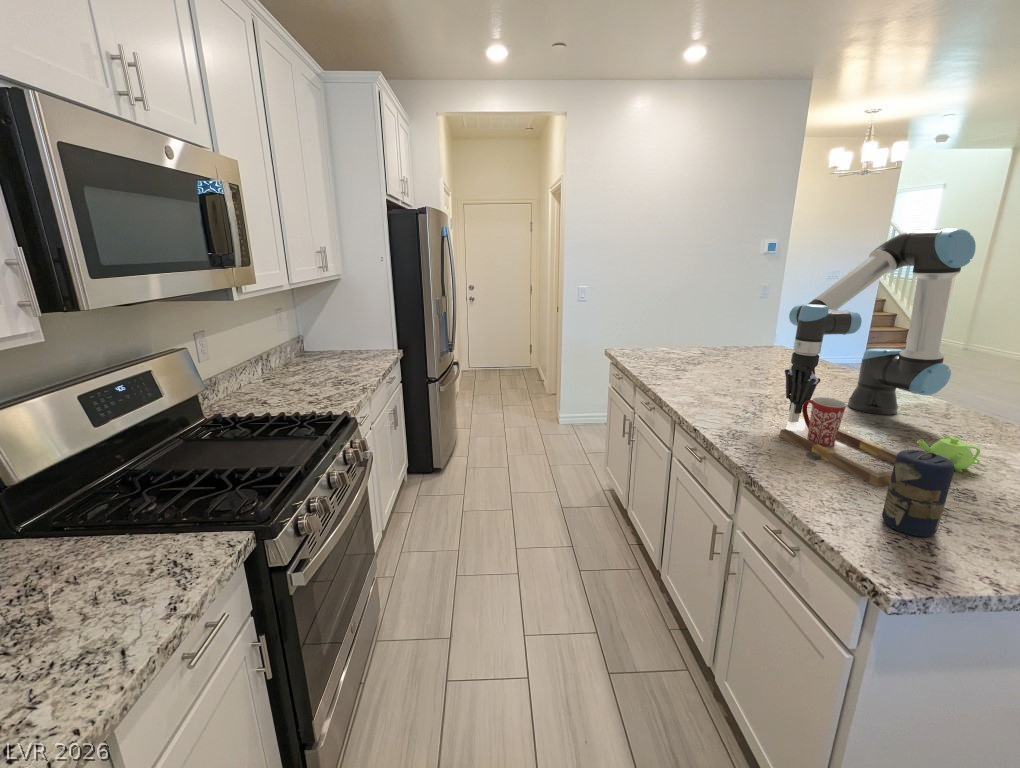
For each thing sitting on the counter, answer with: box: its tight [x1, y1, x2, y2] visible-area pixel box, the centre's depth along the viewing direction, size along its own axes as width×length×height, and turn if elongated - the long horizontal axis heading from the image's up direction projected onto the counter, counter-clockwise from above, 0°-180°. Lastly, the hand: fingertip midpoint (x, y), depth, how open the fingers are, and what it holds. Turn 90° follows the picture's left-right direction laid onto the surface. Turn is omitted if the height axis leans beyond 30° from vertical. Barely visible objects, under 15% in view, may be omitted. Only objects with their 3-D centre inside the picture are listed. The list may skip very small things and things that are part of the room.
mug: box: [801, 396, 848, 447], centre depth 150 cm, size 13×9×14 cm
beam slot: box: [779, 428, 899, 487], centre depth 140 cm, size 25×34×2 cm
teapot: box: [916, 435, 981, 473], centre depth 132 cm, size 11×12×8 cm
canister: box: [882, 449, 955, 537], centre depth 102 cm, size 10×10×18 cm
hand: (793, 421), depth 160 cm, fingers closed
